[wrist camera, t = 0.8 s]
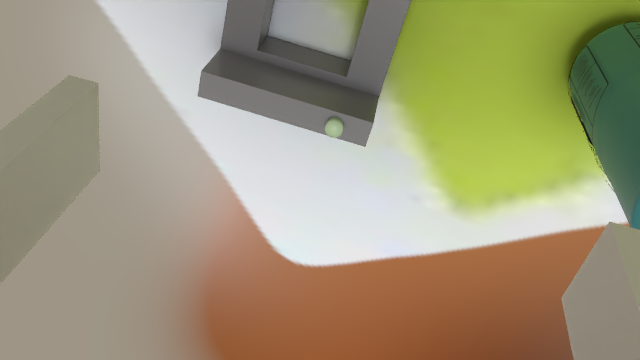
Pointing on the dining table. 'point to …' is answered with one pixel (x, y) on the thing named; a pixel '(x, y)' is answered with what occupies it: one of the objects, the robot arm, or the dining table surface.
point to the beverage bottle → (612, 108)
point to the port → (303, 71)
